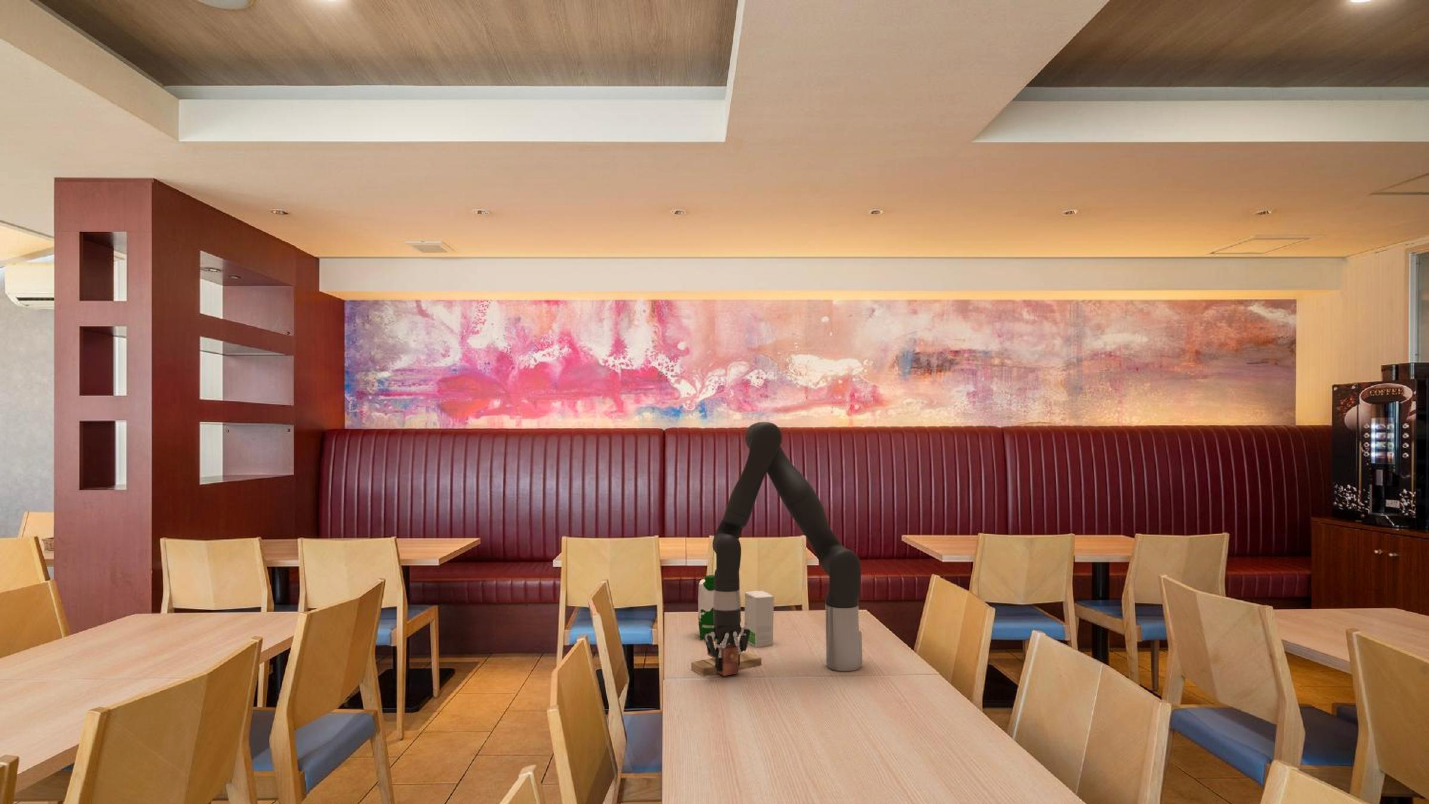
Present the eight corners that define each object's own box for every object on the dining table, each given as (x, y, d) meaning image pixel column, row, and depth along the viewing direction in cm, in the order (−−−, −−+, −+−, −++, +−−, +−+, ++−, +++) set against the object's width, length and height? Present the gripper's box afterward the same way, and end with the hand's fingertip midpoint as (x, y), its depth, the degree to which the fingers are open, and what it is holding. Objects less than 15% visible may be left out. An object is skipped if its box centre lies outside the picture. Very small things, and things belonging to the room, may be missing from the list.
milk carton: (697, 640, 235) (696, 577, 236) (700, 633, 244) (700, 572, 245) (724, 641, 234) (723, 577, 235) (726, 633, 243) (726, 572, 244)
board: (748, 658, 216) (748, 651, 216) (761, 664, 210) (761, 657, 210) (691, 669, 206) (691, 661, 206) (703, 676, 200) (703, 668, 200)
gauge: (716, 661, 211) (716, 636, 212) (739, 673, 200) (739, 647, 201) (702, 664, 209) (702, 639, 209) (725, 676, 198) (725, 649, 198)
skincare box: (743, 641, 234) (743, 591, 235) (762, 638, 237) (761, 589, 238) (756, 648, 226) (755, 596, 227) (775, 645, 229) (774, 594, 230)
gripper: (741, 600, 209) (742, 661, 208) (697, 606, 202) (698, 669, 201) (756, 605, 203) (757, 668, 202) (711, 612, 195) (711, 677, 195)
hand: (727, 668), depth 201 cm, fingers closed on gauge, 4 cm apart
